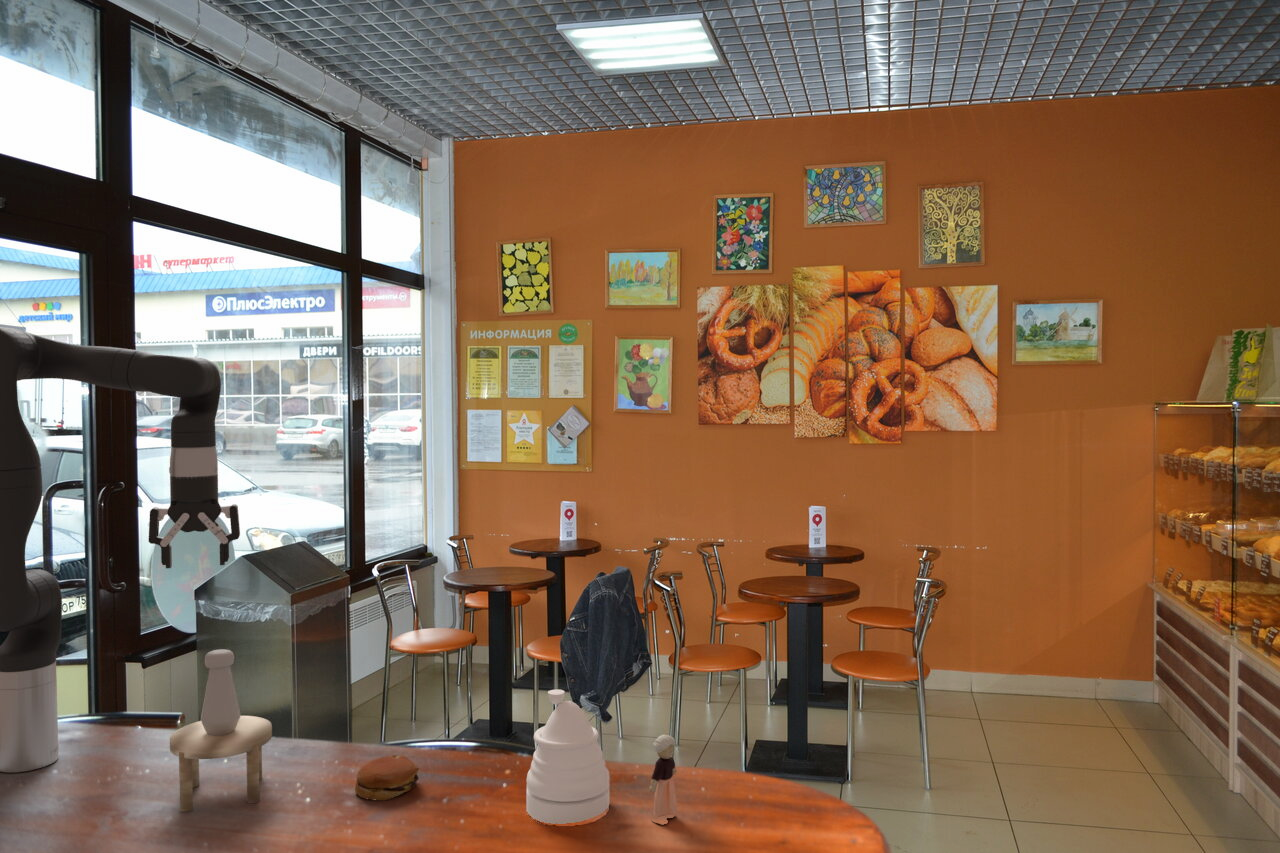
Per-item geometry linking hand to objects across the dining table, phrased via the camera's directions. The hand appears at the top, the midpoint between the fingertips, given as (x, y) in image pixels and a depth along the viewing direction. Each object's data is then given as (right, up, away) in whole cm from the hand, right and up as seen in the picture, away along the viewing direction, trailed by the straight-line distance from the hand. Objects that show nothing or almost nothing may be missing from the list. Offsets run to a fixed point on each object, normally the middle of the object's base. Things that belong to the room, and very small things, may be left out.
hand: (195, 566), depth 168 cm
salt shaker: (+10, -25, -13) cm, 30 cm away
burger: (+36, -35, -11) cm, 51 cm away
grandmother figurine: (+81, -35, -21) cm, 91 cm away
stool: (+10, -35, -13) cm, 38 cm away
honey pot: (+66, -35, -18) cm, 77 cm away
